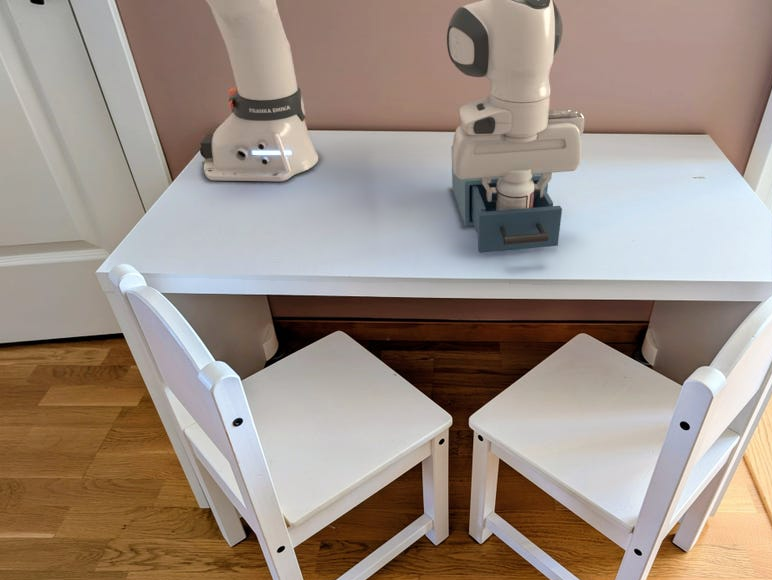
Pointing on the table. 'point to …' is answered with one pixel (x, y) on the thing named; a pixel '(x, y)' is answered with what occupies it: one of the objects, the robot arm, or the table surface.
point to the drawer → (513, 223)
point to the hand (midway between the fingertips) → (514, 198)
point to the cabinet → (462, 193)
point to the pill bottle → (515, 190)
